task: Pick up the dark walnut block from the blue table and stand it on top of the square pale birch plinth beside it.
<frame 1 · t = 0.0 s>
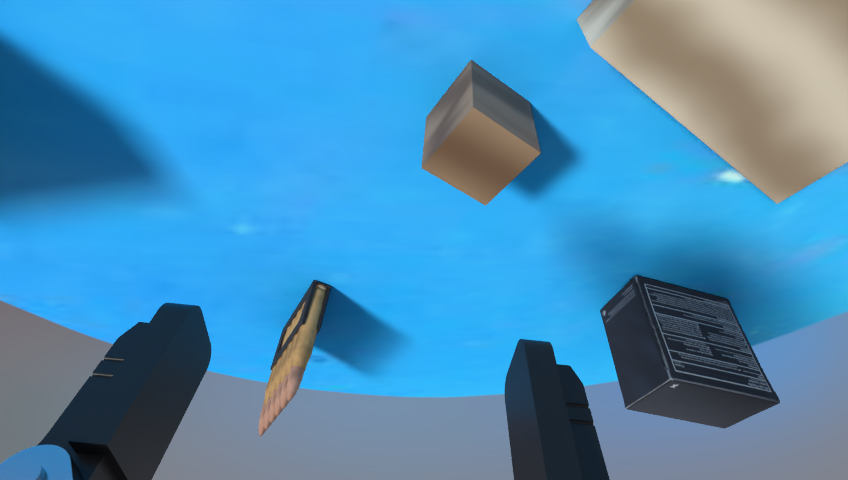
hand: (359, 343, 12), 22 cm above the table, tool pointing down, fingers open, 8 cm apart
ammunition clip: (306, 307, 49), on the table
walnut block: (477, 109, 32), on the table
small box: (660, 303, 46), on the table
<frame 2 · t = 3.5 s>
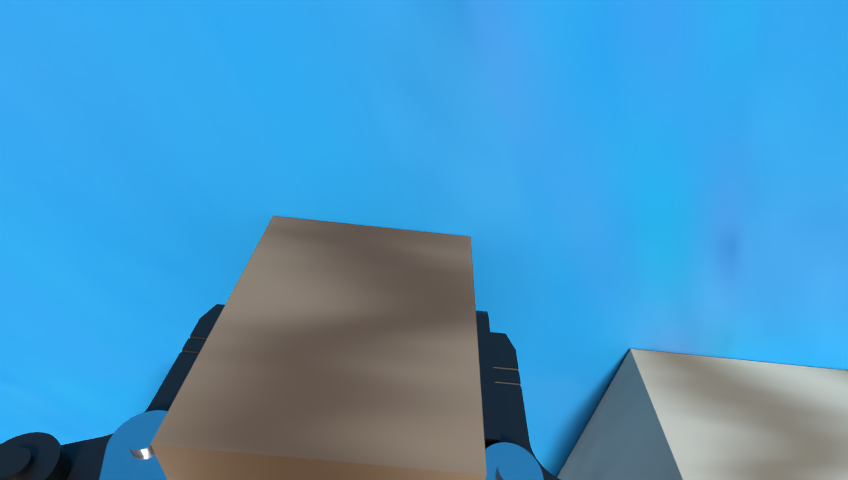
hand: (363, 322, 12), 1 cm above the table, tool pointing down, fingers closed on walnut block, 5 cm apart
walnut block: (369, 297, 13), on the table, touching gripper
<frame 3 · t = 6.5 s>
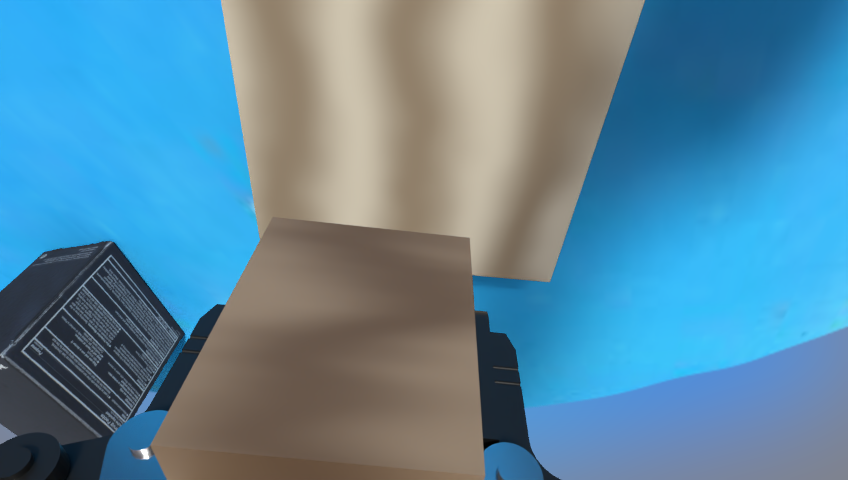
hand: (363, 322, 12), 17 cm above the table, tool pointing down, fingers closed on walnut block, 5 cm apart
birch plinth: (421, 106, 27), on the table
walnut block: (368, 298, 13), point 16 cm above the table, touching gripper
small box: (119, 293, 37), on the table
when the fingers open (6 cm above the table, at t = 9.6 s): walnut block drops 1 cm, resting on birch plinth.
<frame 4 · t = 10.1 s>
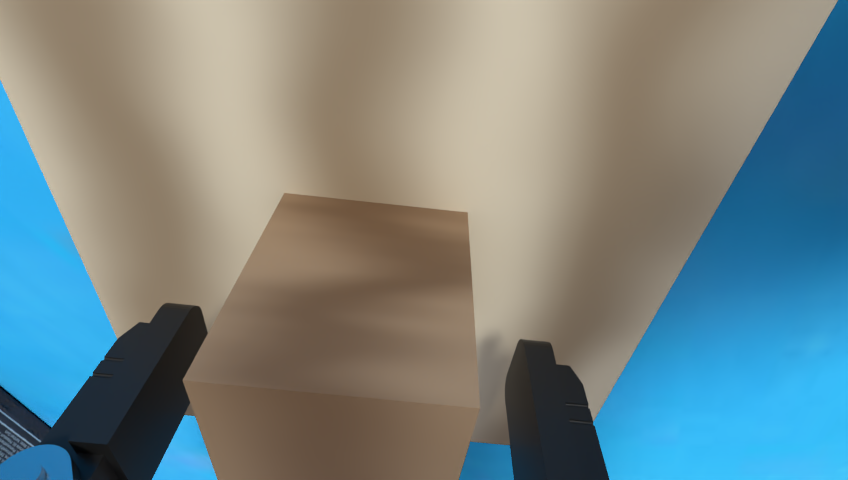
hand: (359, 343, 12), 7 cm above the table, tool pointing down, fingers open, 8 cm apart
birch plinth: (387, 201, 17), on the table
walnut block: (373, 271, 14), point 4 cm above the table, touching birch plinth
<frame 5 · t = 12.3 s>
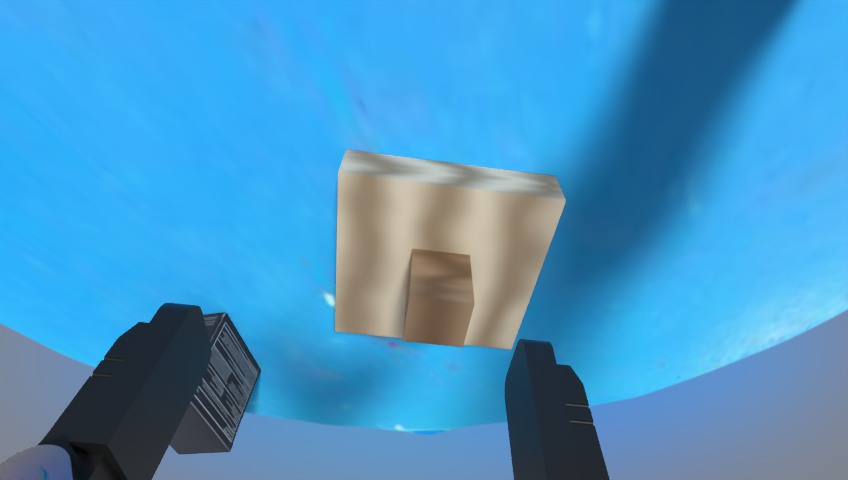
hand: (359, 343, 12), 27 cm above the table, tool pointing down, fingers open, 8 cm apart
birch plinth: (437, 246, 44), on the table
walnut block: (437, 273, 41), point 4 cm above the table, touching birch plinth
small box: (220, 343, 54), on the table
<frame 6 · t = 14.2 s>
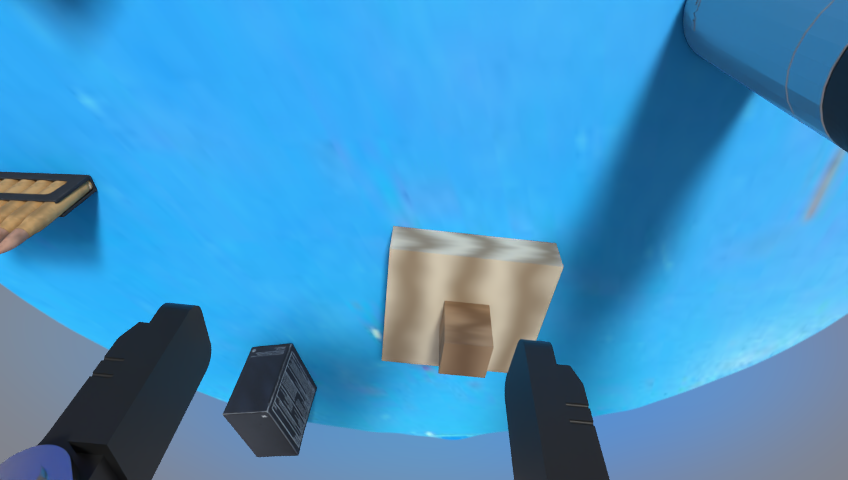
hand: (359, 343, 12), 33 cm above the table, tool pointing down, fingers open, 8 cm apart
birch plinth: (462, 294, 56), on the table
ammunition clip: (46, 180, 49), on the table
walnut block: (463, 318, 53), point 4 cm above the table, touching birch plinth
small box: (285, 366, 66), on the table
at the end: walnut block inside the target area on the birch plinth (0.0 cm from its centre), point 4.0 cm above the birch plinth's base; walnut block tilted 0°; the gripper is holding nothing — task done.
